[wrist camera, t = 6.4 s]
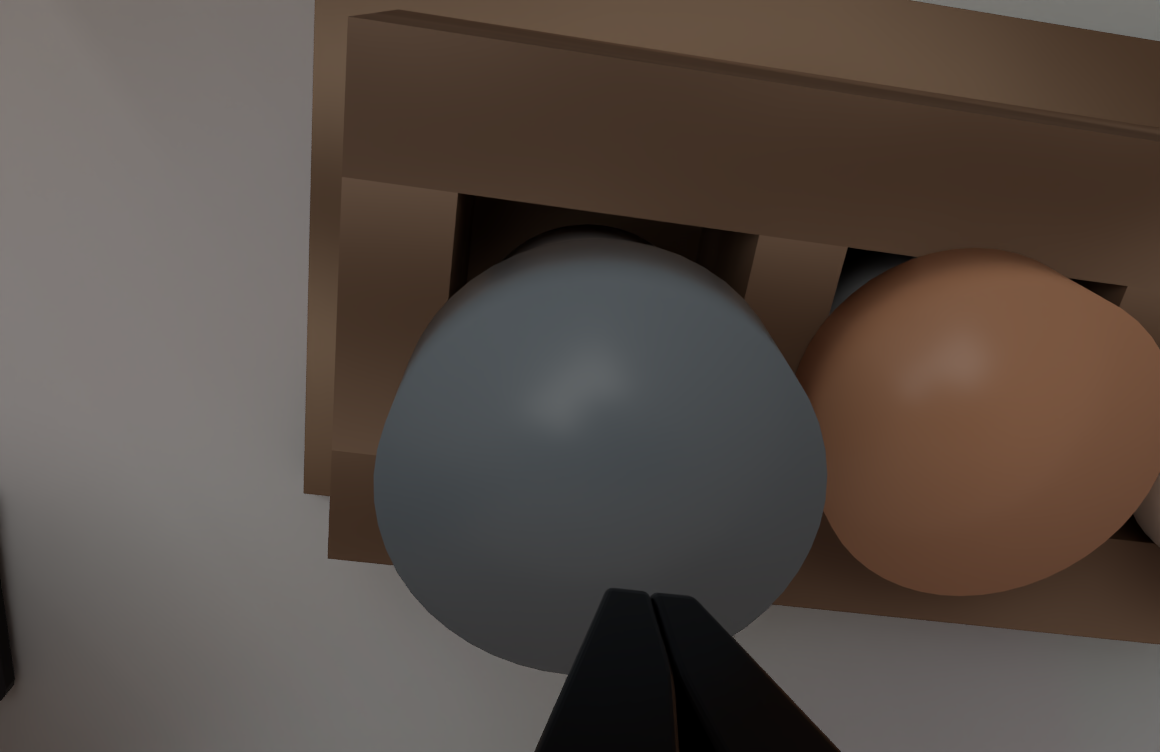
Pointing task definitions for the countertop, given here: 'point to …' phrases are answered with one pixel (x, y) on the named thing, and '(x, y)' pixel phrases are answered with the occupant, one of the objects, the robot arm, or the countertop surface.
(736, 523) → the knob
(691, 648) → the robot arm
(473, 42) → the mount
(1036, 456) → the knob mid
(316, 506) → the countertop surface
